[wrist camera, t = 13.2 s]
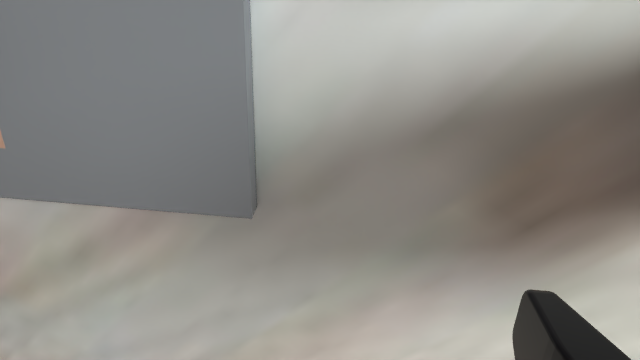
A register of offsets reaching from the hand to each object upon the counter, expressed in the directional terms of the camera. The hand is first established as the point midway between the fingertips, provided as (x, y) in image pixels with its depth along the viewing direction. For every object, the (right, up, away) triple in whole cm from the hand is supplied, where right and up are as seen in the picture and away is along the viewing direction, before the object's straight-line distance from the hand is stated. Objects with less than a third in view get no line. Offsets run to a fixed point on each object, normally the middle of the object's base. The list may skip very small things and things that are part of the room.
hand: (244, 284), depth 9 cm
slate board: (-10, +6, +13) cm, 18 cm away
